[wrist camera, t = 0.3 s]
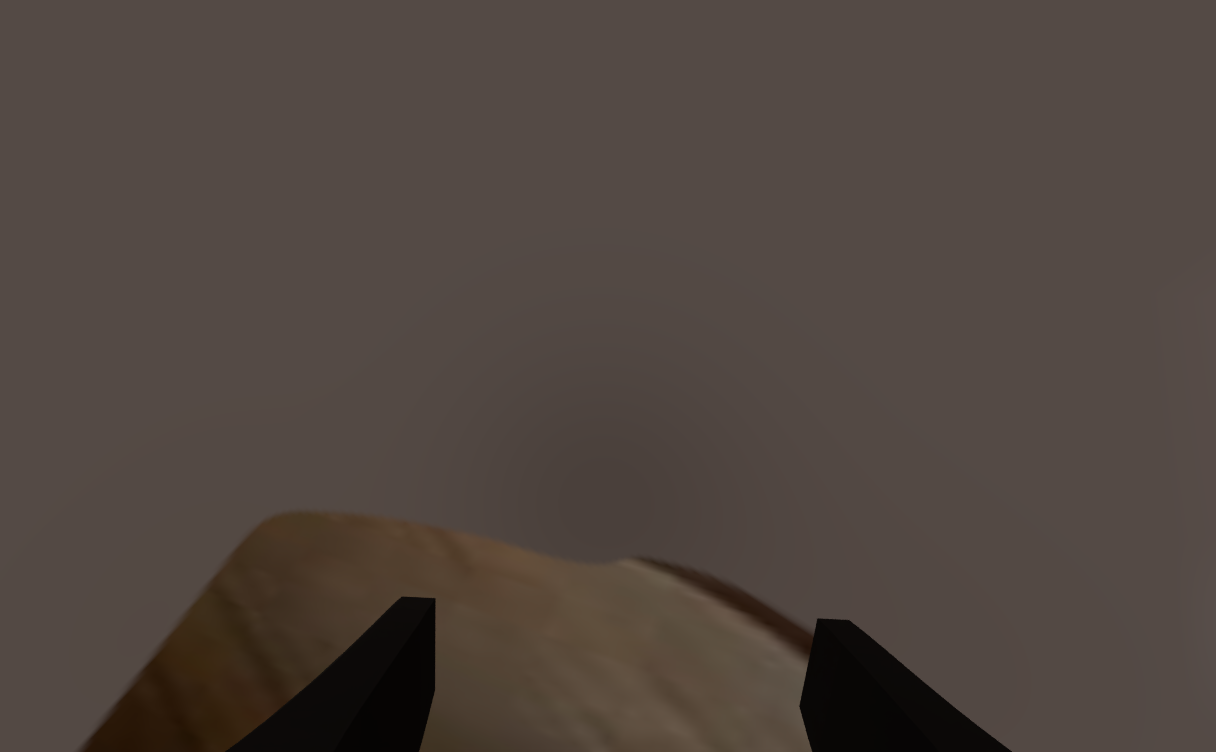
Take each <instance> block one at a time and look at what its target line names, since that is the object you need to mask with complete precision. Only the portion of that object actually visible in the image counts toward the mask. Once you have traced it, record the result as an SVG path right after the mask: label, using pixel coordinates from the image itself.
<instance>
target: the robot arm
mask: <svg viewBox="0 0 1216 752" xmlns="http://www.w3.org/2000/svg"><path fill="white" fill-rule="evenodd" d="M434 692H435V598H419V597H401V598H400V599H399V600H397V601H396V602H395V603H394V604H393V605H392V606H391V607H390V608H389V609H388V610H387V611H386V612H385V613H384V614H383V615H382V616H381V617H380V618H379V619H378V620H377V621H376V622H375V623H374V624H373V625H372V626H371V627H370V628H369V629H368V630H367V631H366V632H365V633H364V634H363V635H362V636H361V637H360V638H359V639H357V640H356V641H355V642H354V643H353V644H352V645H351V646H350V647H349V648H348V649H347V650H346V651H345V652H344V653H343V654H342V655H341V656H339V657H338V658H337V659H336V660H335V661H334V662H333V663H332V664H331V665H330V666H329V667H328V668H326V669H325V670H324V671H323V672H322V673H321V674H320V675H319V676H318V677H317V678H316V679H314V680H313V681H312V682H311V683H310V684H309V685H308V686H306V687H305V688H304V689H303V690H302V691H300V692H299V693H298V694H297V695H296V696H295V697H293V698H292V699H291V700H290V701H289V702H287V703H286V704H285V705H284V706H283V707H281V708H280V709H279V710H278V711H277V712H276V713H274V714H273V715H272V716H271V717H270V718H268V719H267V720H266V721H265V722H263V723H262V724H261V725H260V726H258V727H257V728H256V729H254V730H253V731H252V732H251V733H249V734H248V735H247V736H246V737H244V738H243V739H242V740H240V741H239V742H238V743H236V744H235V745H234V746H232V747H231V748H230V749H228V750H227V751H225V752H419V750H420V746H421V743H422V739H423V735H424V731H425V728H426V724H427V720H428V716H429V712H430V708H431V704H432V700H433V696H434ZM799 707H800V710H801V714H802V718H803V721H804V725H805V728H806V732H807V736H808V739H809V742H810V746H811V749H812V752H1012V751H1010V750H1009V749H1008V748H1006V747H1005V746H1004V745H1002V744H1001V743H1000V742H998V741H997V740H996V739H995V738H993V737H992V736H991V735H989V734H988V733H987V732H985V731H984V730H983V729H981V728H980V727H979V726H977V725H976V724H975V723H974V722H972V721H971V720H970V719H969V718H967V717H966V716H965V715H963V714H962V713H961V712H960V711H958V710H957V709H956V708H955V707H953V706H952V705H951V704H950V703H949V702H947V701H946V700H945V699H944V698H942V697H941V696H940V695H939V694H938V693H936V692H935V691H934V690H933V689H931V688H930V687H929V686H928V685H927V684H925V683H924V682H923V681H922V680H921V679H920V678H918V677H917V676H916V675H915V674H914V673H912V672H911V671H910V670H909V669H907V668H906V667H905V666H904V665H903V664H902V663H901V662H899V661H898V660H897V659H896V658H895V657H894V656H892V655H891V654H890V653H889V652H888V651H886V650H885V649H884V648H883V647H882V646H881V645H879V644H878V643H877V642H876V641H875V640H873V639H872V638H871V637H870V636H868V635H867V634H866V633H865V632H864V631H862V630H861V629H859V627H857V626H856V625H855V624H853V623H852V622H851V621H849V620H836V619H817V623H816V628H815V633H814V638H813V643H812V648H811V653H810V657H809V662H808V667H807V672H806V677H805V682H804V686H803V691H802V696H801V701H800V706H799Z"/></svg>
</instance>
